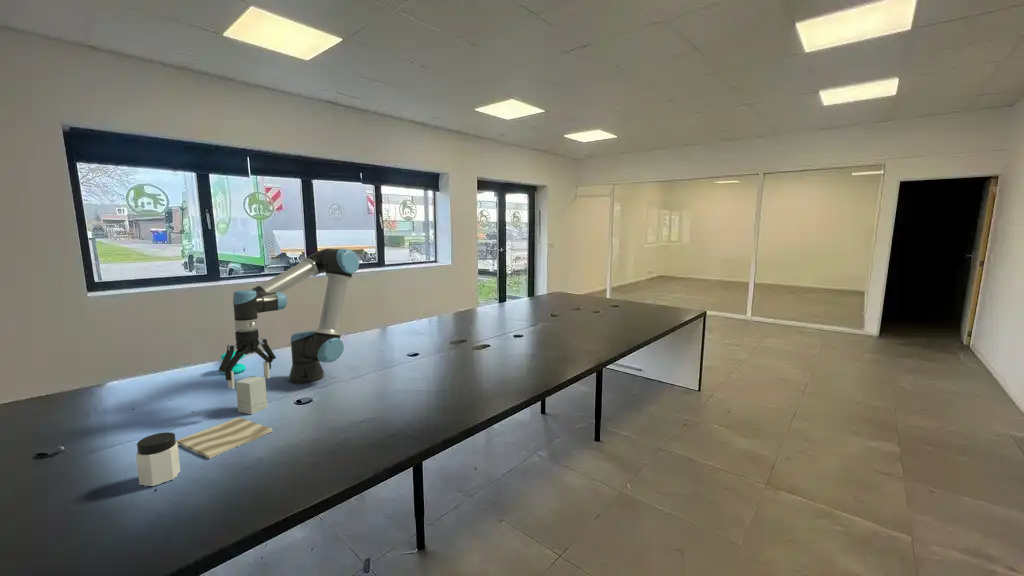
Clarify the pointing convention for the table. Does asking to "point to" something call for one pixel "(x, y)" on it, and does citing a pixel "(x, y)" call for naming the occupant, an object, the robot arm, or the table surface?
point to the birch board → (224, 437)
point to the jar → (157, 459)
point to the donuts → (237, 367)
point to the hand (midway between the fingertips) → (249, 382)
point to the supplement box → (251, 394)
